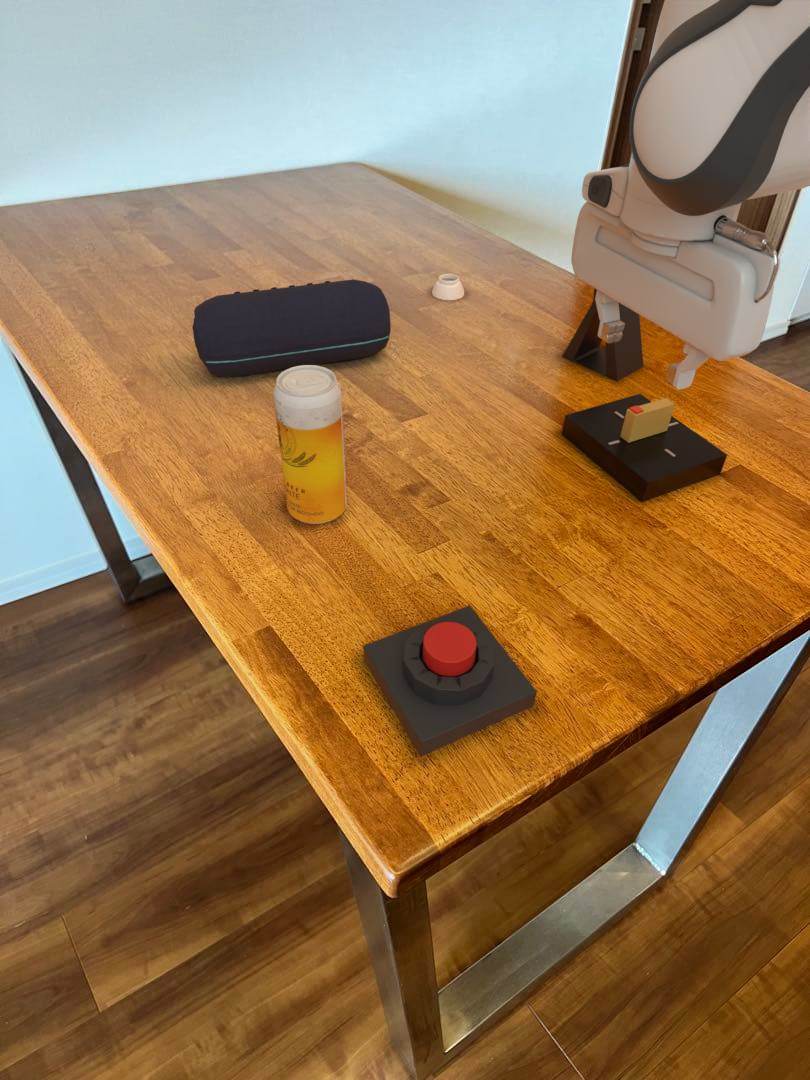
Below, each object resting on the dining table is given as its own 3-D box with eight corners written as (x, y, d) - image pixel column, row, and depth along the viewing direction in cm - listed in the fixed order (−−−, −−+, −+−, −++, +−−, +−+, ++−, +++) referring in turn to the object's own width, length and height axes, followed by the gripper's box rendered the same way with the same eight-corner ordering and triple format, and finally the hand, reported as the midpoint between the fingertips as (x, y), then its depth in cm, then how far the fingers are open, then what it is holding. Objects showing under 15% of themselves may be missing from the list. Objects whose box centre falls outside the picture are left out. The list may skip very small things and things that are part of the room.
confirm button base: (533, 708, 57) (540, 676, 54) (420, 759, 53) (422, 728, 51) (468, 622, 64) (471, 590, 61) (363, 662, 60) (362, 630, 57)
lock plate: (719, 477, 80) (728, 453, 78) (640, 505, 76) (648, 480, 74) (634, 415, 89) (640, 392, 87) (560, 437, 85) (565, 413, 83)
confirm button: (484, 665, 55) (486, 650, 54) (438, 684, 54) (439, 669, 53) (458, 629, 58) (459, 615, 57) (413, 647, 57) (414, 632, 56)
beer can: (281, 498, 76) (264, 368, 66) (337, 486, 78) (329, 358, 68) (296, 535, 72) (280, 402, 62) (355, 521, 73) (349, 390, 63)
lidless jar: (432, 302, 112) (464, 303, 112) (432, 283, 110) (465, 284, 110) (431, 289, 116) (463, 289, 116) (432, 270, 114) (464, 271, 114)
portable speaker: (375, 334, 104) (374, 264, 97) (396, 367, 97) (397, 294, 90) (196, 359, 98) (182, 286, 91) (205, 395, 91) (191, 320, 84)
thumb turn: (658, 424, 82) (667, 395, 79) (667, 431, 81) (676, 401, 78) (619, 436, 80) (627, 407, 77) (628, 443, 79) (636, 413, 77)
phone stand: (561, 359, 99) (576, 271, 91) (587, 345, 102) (604, 259, 94) (616, 384, 95) (637, 294, 87) (642, 369, 98) (665, 281, 90)
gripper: (818, 236, 51) (754, 408, 60) (629, 162, 65) (601, 311, 74) (752, 249, 49) (696, 425, 58) (571, 171, 63) (549, 323, 72)
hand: (641, 361), depth 66 cm, fingers open, 8 cm apart
